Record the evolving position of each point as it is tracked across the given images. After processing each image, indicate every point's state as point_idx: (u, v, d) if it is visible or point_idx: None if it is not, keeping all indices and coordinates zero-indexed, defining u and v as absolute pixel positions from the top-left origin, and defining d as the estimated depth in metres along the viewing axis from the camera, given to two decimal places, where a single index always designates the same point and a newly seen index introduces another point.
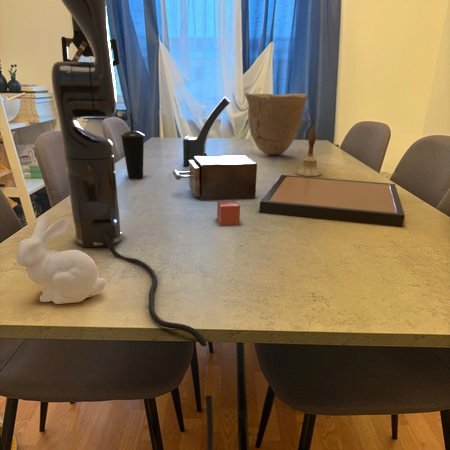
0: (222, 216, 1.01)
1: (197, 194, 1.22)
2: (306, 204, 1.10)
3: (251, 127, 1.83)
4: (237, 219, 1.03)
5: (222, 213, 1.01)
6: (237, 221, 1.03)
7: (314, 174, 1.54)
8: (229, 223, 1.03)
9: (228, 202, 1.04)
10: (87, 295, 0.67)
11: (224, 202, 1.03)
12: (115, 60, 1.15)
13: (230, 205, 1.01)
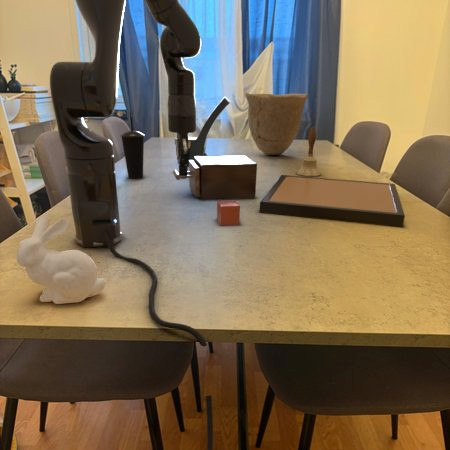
0: (222, 216, 1.01)
1: (197, 194, 1.22)
2: (306, 204, 1.10)
3: (251, 127, 1.83)
4: (237, 219, 1.03)
5: (222, 213, 1.01)
6: (237, 221, 1.03)
7: (314, 174, 1.54)
8: (229, 223, 1.03)
9: (228, 202, 1.04)
10: (87, 295, 0.67)
11: (224, 202, 1.03)
12: (179, 160, 1.19)
13: (230, 205, 1.01)
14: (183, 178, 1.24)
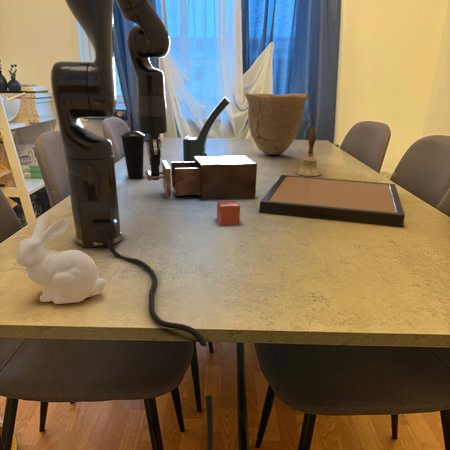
0: (222, 216, 1.01)
1: (169, 195, 1.20)
2: (306, 204, 1.10)
3: (251, 127, 1.83)
4: (237, 219, 1.03)
5: (222, 213, 1.01)
6: (237, 221, 1.03)
7: (314, 174, 1.54)
8: (229, 223, 1.03)
9: (228, 202, 1.04)
10: (87, 295, 0.67)
11: (224, 202, 1.03)
12: (150, 161, 1.18)
13: (230, 205, 1.01)
14: (155, 179, 1.22)
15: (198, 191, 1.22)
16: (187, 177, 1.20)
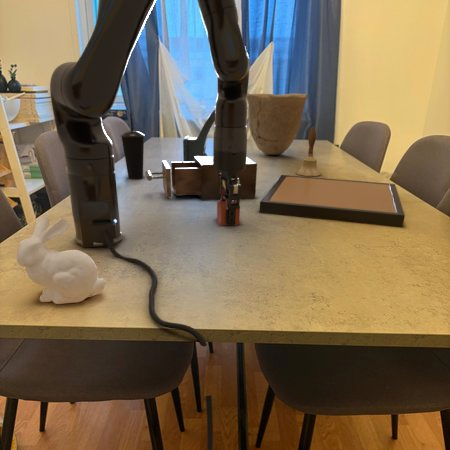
0: (222, 216, 1.01)
1: (169, 195, 1.20)
2: (306, 204, 1.10)
3: (251, 127, 1.83)
4: (237, 219, 1.03)
5: (222, 213, 1.01)
6: (237, 221, 1.03)
7: (314, 174, 1.54)
8: None
9: None
10: (87, 295, 0.67)
11: (224, 202, 1.03)
12: (227, 204, 0.98)
13: None
14: (230, 224, 1.02)
15: (198, 191, 1.22)
16: (187, 177, 1.20)
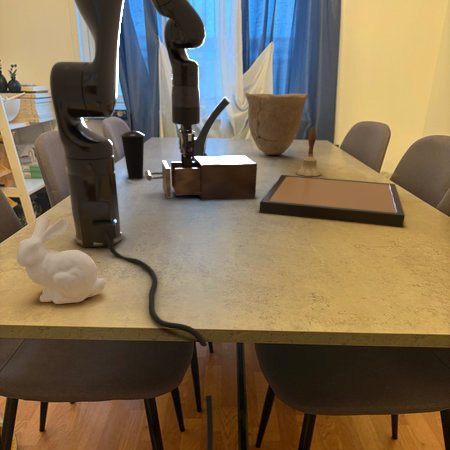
0: None
1: (169, 195, 1.20)
2: (306, 204, 1.10)
3: (251, 127, 1.83)
4: None
5: None
6: None
7: (314, 174, 1.54)
8: None
9: None
10: (87, 295, 0.67)
11: None
12: (184, 152, 1.16)
13: None
14: None
15: (197, 191, 1.22)
16: (187, 177, 1.20)
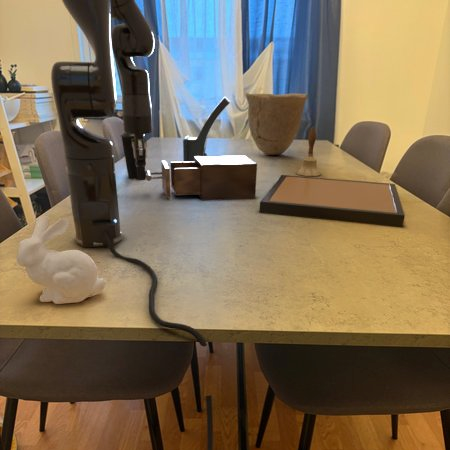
0: None
1: (168, 195, 1.20)
2: (306, 204, 1.10)
3: (251, 127, 1.83)
4: None
5: None
6: None
7: (314, 174, 1.54)
8: None
9: None
10: (87, 295, 0.67)
11: None
12: (136, 161, 1.17)
13: None
14: (141, 179, 1.21)
15: (197, 191, 1.22)
16: (186, 177, 1.20)
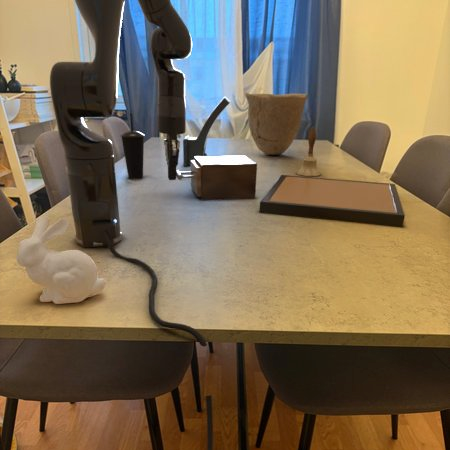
0: None
1: (199, 194, 1.22)
2: (306, 204, 1.10)
3: (251, 127, 1.83)
4: None
5: None
6: None
7: (314, 174, 1.54)
8: None
9: None
10: (87, 295, 0.67)
11: None
12: (168, 161, 1.19)
13: None
14: (172, 179, 1.23)
15: None
16: None
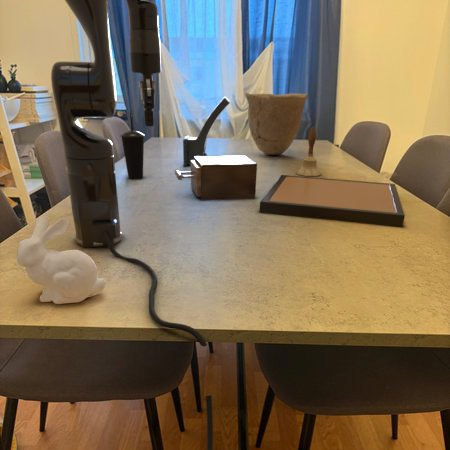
0: None
1: (199, 194, 1.22)
2: (306, 204, 1.10)
3: (251, 127, 1.83)
4: None
5: None
6: None
7: (314, 174, 1.54)
8: None
9: None
10: (87, 295, 0.67)
11: None
12: (144, 104, 1.11)
13: None
14: (149, 125, 1.15)
15: None
16: None
